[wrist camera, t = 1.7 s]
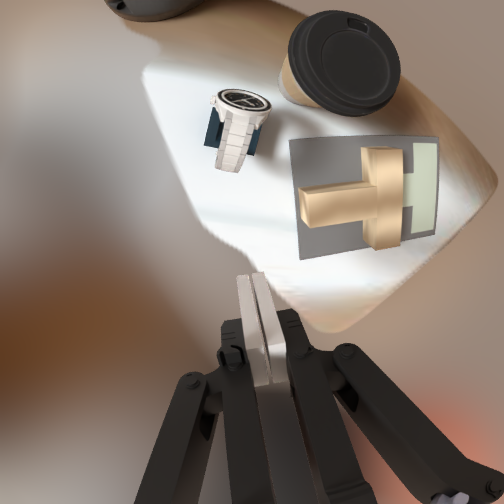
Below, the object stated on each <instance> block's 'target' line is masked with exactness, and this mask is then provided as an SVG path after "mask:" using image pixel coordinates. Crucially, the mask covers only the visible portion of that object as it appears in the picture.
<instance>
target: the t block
mask: <svg viewBox="0 0 504 504" xmlns="http://www.w3.org/2000/svg"><path fill="white" fill-rule="evenodd" d="M361 160H362V181H351V182H342V183H332V184H323V185H315V186H307V187H299V188H298V191H299V202H300V214H301V219H302V220H303V221H304V222H305V223H306V224H307V225H308V227H309V228H315V227H322V226H328V225H334V224H341V223H347V222H354V221H361V220H363V240H364V241H365V242H366V243H368V244H369V245H370V246H371V247H372V248H373V249H374V250H376V251H377V250H382V249H387V248H392V247H397V246H400V239H401V225H402V206H403V150H402V149H398V148H393V147H387V146H377V147H361Z"/></svg>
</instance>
